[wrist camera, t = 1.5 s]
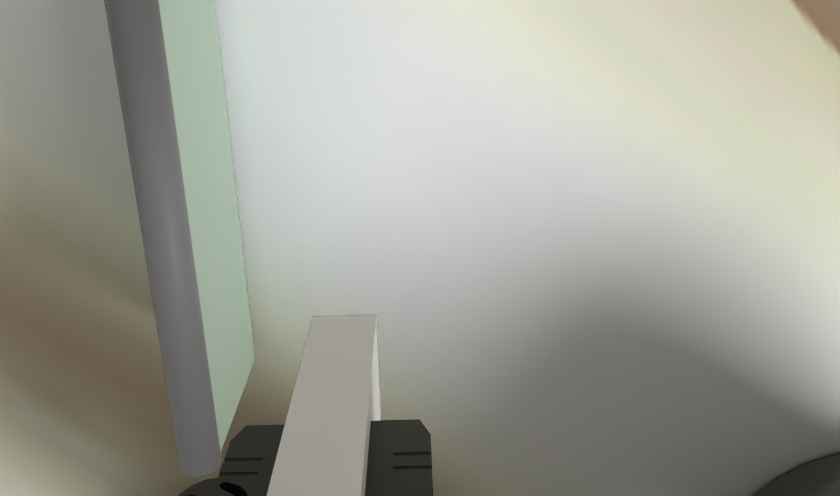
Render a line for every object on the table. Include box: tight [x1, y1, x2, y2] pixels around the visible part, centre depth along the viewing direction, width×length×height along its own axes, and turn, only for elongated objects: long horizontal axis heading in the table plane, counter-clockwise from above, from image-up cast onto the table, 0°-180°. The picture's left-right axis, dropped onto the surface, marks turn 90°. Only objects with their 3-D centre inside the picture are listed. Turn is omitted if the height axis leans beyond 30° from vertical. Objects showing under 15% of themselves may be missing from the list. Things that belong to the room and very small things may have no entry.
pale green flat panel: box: [104, 0, 255, 477], centre depth 30 cm, size 21×2×9 cm, turn 1°
